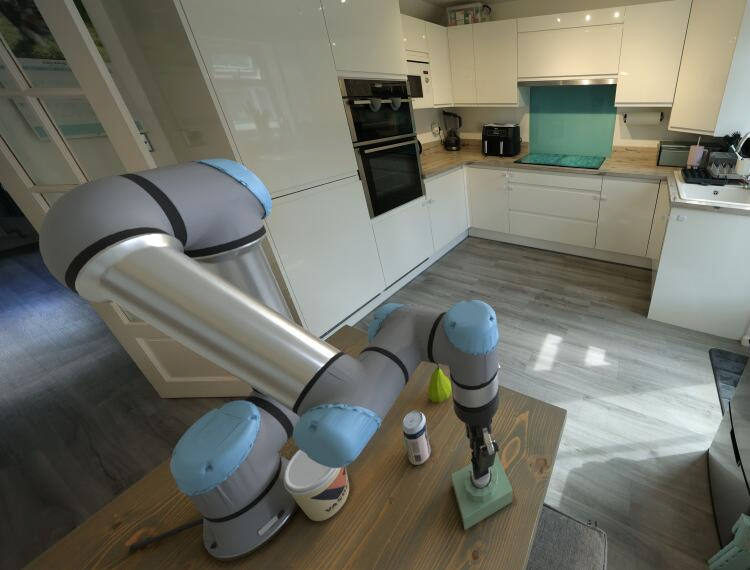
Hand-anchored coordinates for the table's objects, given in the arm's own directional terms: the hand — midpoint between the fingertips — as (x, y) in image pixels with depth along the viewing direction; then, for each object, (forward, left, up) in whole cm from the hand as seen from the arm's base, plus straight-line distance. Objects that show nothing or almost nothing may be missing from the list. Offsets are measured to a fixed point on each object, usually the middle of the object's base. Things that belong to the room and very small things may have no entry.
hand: (480, 472), depth 60 cm
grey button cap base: (0, 0, -7) cm, 7 cm away
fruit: (-2, +25, -8) cm, 26 cm away
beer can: (-10, +13, -7) cm, 18 cm away
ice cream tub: (-28, +13, -7) cm, 32 cm away
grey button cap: (0, 0, -2) cm, 2 cm away
